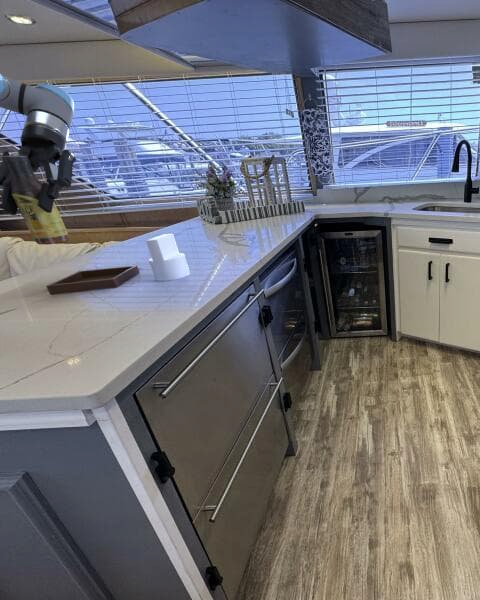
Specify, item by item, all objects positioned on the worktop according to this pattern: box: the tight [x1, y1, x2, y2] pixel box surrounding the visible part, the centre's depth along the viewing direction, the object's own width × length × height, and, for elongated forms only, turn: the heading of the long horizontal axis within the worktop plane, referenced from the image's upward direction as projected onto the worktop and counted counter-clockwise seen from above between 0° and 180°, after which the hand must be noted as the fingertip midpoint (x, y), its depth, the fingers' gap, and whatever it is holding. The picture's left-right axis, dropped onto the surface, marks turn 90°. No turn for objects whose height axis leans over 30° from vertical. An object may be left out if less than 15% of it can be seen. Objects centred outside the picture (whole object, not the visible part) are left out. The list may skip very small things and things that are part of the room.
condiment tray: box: [46, 265, 141, 296], centre depth 94 cm, size 16×14×2 cm
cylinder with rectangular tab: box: [145, 233, 191, 282], centre depth 95 cm, size 9×9×12 cm
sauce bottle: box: [1, 155, 70, 246], centre depth 76 cm, size 6×6×20 cm
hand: (26, 210), depth 74 cm, fingers closed on sauce bottle, 6 cm apart
